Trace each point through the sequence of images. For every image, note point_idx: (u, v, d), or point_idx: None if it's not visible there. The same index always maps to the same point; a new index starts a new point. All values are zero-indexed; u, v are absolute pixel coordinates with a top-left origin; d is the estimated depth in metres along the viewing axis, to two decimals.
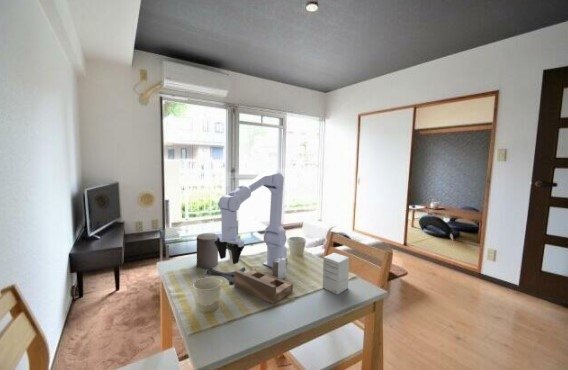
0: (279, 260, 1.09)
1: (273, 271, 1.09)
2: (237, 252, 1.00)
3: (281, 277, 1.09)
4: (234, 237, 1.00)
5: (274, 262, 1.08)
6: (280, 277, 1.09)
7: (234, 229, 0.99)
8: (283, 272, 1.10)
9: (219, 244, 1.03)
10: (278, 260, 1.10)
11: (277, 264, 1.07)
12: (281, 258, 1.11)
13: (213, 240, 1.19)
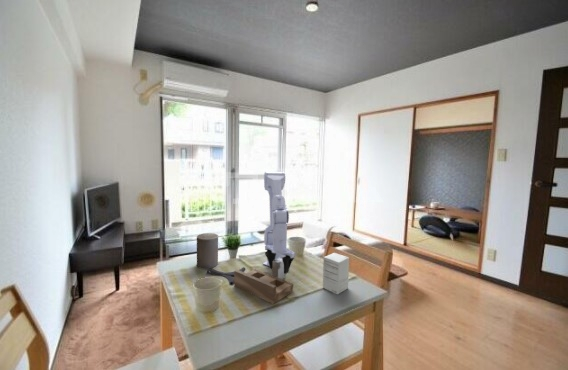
0: (279, 260, 1.09)
1: (273, 271, 1.09)
2: (288, 262, 1.07)
3: (281, 277, 1.09)
4: (285, 249, 1.08)
5: (274, 262, 1.08)
6: (280, 277, 1.09)
7: (285, 241, 1.07)
8: (283, 272, 1.10)
9: (270, 255, 1.11)
10: (278, 260, 1.10)
11: (277, 264, 1.07)
12: (281, 258, 1.11)
13: (213, 240, 1.19)
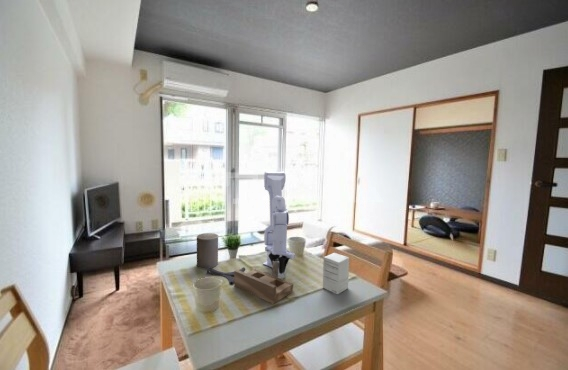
0: None
1: (273, 271, 1.09)
2: (284, 262, 1.09)
3: (281, 277, 1.09)
4: (285, 250, 1.08)
5: (274, 262, 1.08)
6: (280, 277, 1.09)
7: (285, 243, 1.07)
8: None
9: (273, 257, 1.09)
10: None
11: (277, 264, 1.07)
12: None
13: (213, 240, 1.19)
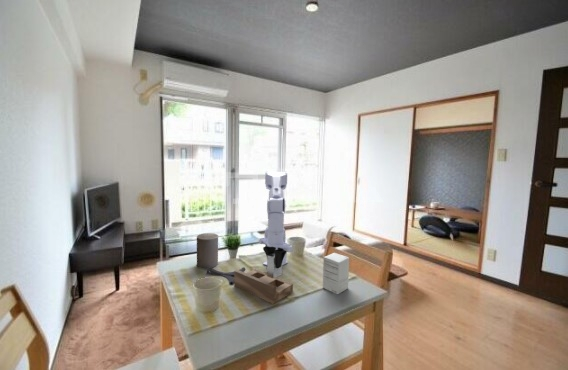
0: None
1: (268, 267, 0.97)
2: (280, 256, 0.97)
3: (277, 274, 0.98)
4: (281, 242, 0.96)
5: (269, 257, 0.96)
6: (276, 274, 0.97)
7: (281, 234, 0.95)
8: (280, 268, 0.99)
9: (268, 250, 0.97)
10: (274, 254, 0.98)
11: (273, 260, 0.95)
12: None
13: (213, 240, 1.19)
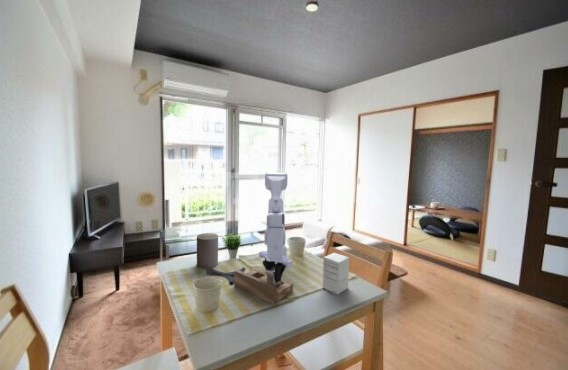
0: None
1: (267, 281, 0.97)
2: (280, 270, 0.97)
3: None
4: (281, 256, 0.96)
5: (269, 271, 0.97)
6: None
7: (281, 248, 0.96)
8: (279, 283, 0.99)
9: (268, 264, 0.98)
10: (273, 269, 0.98)
11: (272, 274, 0.95)
12: None
13: (213, 240, 1.19)
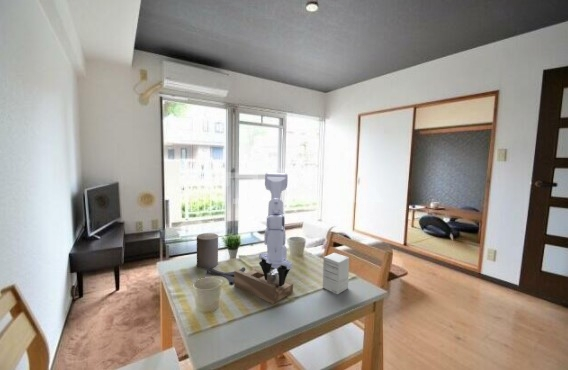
0: (274, 272, 0.98)
1: None
2: (283, 274, 0.96)
3: None
4: (281, 258, 0.96)
5: (269, 274, 0.97)
6: None
7: (281, 250, 0.96)
8: None
9: (264, 265, 0.99)
10: (273, 271, 0.98)
11: (272, 277, 0.96)
12: None
13: (213, 240, 1.19)
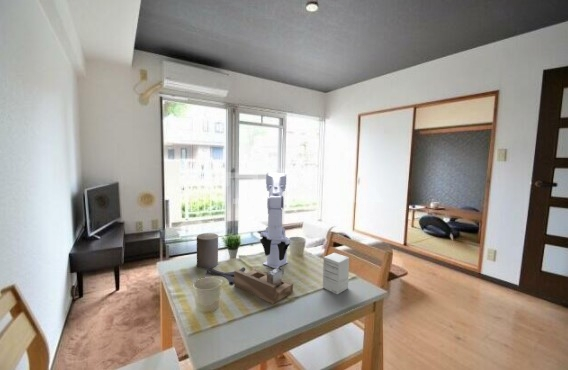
0: (274, 272, 0.98)
1: None
2: (283, 249, 1.06)
3: None
4: (280, 235, 1.06)
5: (269, 274, 0.97)
6: None
7: (280, 228, 1.06)
8: (279, 285, 0.99)
9: (265, 242, 1.09)
10: (273, 271, 0.98)
11: (272, 277, 0.96)
12: (277, 269, 1.00)
13: (213, 240, 1.19)
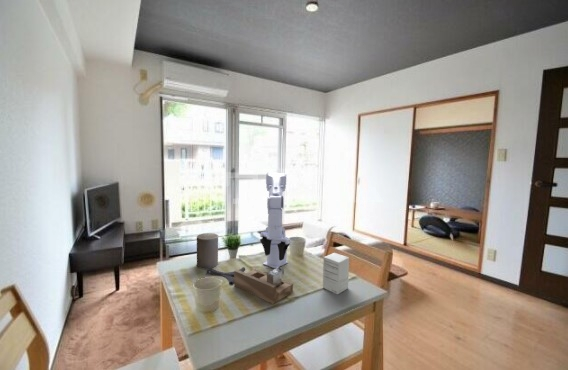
0: (274, 272, 0.98)
1: None
2: (283, 249, 1.06)
3: None
4: (280, 235, 1.06)
5: (269, 274, 0.97)
6: None
7: (280, 228, 1.06)
8: (279, 285, 0.99)
9: (265, 242, 1.09)
10: (273, 271, 0.98)
11: (272, 277, 0.96)
12: (277, 270, 1.00)
13: (213, 240, 1.19)
